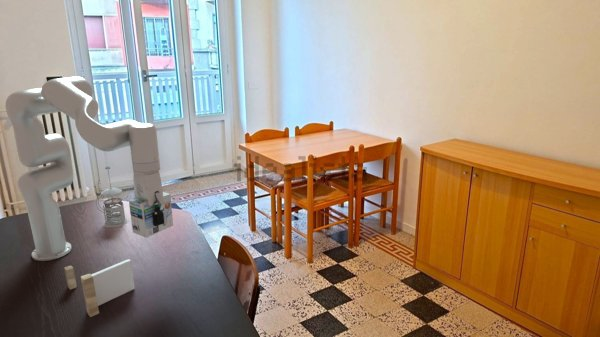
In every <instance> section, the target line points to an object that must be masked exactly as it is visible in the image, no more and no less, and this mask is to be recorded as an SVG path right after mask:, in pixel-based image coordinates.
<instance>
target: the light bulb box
mask: <svg viewBox="0 0 600 337" xmlns="http://www.w3.org/2000/svg"><path fill="white" fill-rule="evenodd" d="M163 201H164V202H165V206H164V212H163V214H164V224H161V225H158V226H154V225H153V216H152V214H154V213H153V210H152V205H151V206H150V207H148V206H147V203H146V202H144V201H143V200H141V199H140V198H138V197H136V198H135V197H134V198H131V199H129V200H128V202H129V203H128V204H129V213H130V222H131V228H132V233H134V234H136V235H138V236H141V237H143V238H145V239H147V238H149V237H152V236H154V235H155V234H159V233H160V232H162V231H164V230H166V229H168V228H171V227H173V226H174V218H173V210H172V209H173V208H172V207H173V206H172V196H171V193H168V192H164V191H163ZM154 203H157V201H154ZM154 203H153V204H154ZM157 207H158V205H156V206H155V209H156V208H157Z"/></svg>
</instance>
